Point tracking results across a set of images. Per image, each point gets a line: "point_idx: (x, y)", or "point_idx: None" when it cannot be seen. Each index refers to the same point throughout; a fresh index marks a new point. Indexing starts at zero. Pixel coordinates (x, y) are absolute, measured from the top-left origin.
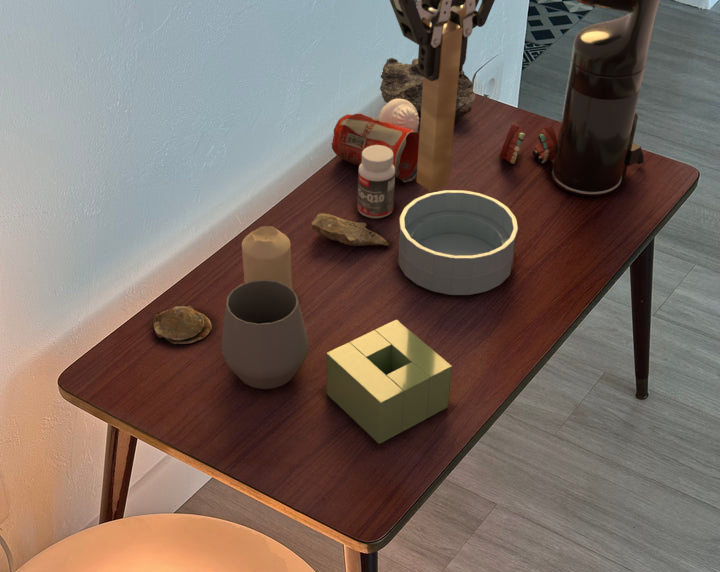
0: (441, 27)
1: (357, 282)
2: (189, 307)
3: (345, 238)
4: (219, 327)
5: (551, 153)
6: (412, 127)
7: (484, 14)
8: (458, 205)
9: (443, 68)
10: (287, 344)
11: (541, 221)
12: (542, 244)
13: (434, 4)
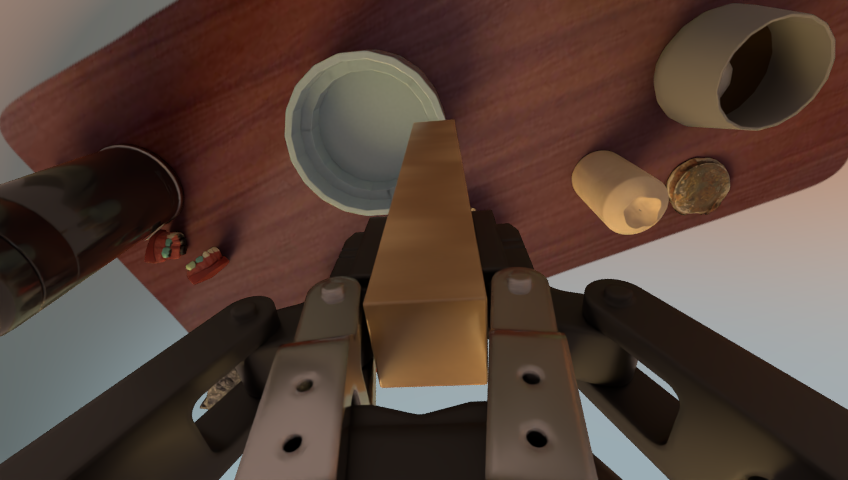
0: (503, 323)
1: (494, 156)
2: (674, 206)
3: None
4: (666, 166)
5: (165, 233)
6: None
7: (218, 333)
8: (334, 190)
9: (459, 219)
10: (758, 7)
11: (233, 143)
12: (254, 102)
13: (597, 459)
